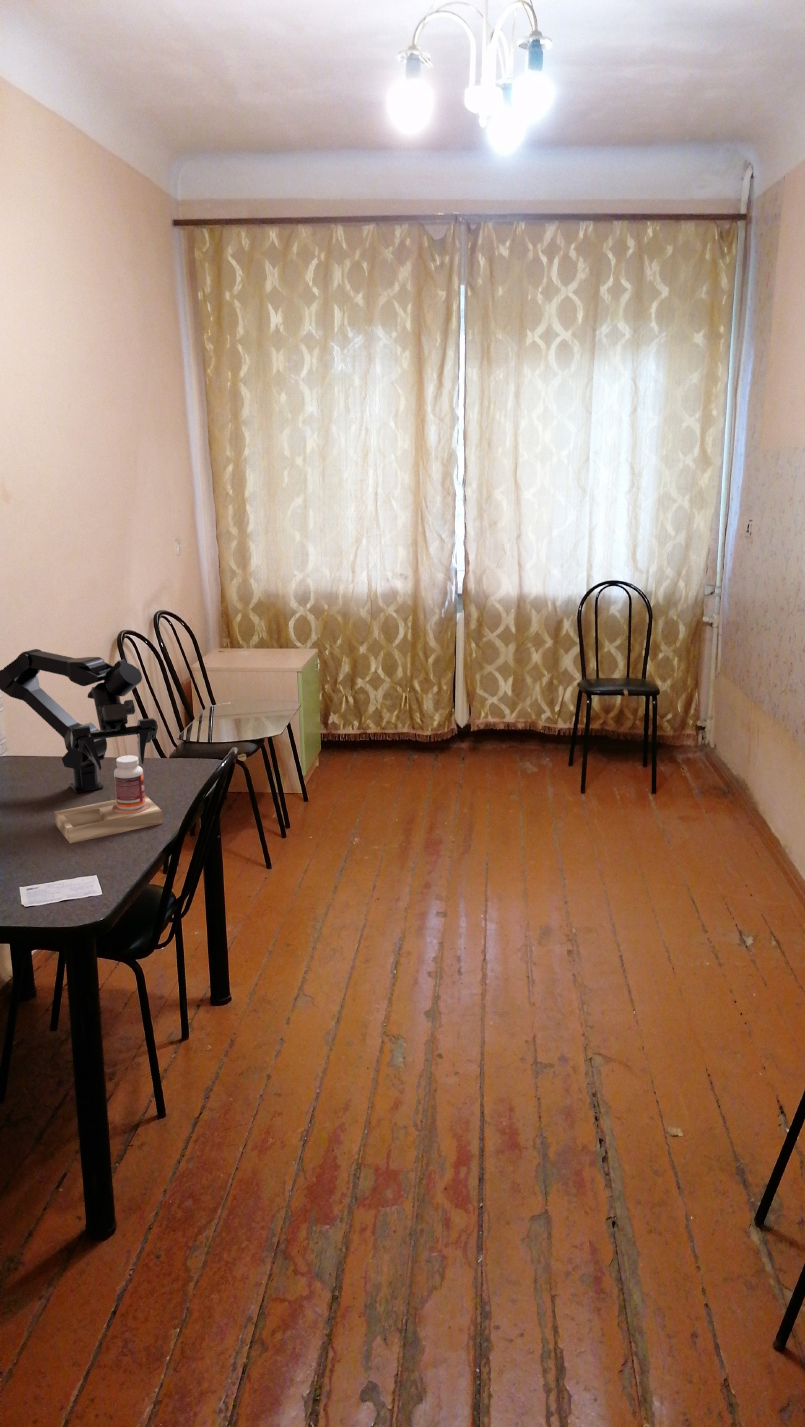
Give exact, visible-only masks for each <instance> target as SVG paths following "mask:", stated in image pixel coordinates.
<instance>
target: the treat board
mask: <svg viewBox="0 0 805 1427" xmlns="http://www.w3.org/2000/svg"><path fill="white" fill-rule="evenodd" d="M53 812H54V819H55V820H54V821H55V825H56V827H57V828H58V830H59V831H60V832H61V833H62V835H63V836H64V837H65V839H66V840H67V842H68V843H69V844H74V843H79V842H83V841H87V840H91V839H92V840H93V839H97V838H102V837H106V836H111V835H115V834H120V833H125V832H129V831H133V830H138V829H143V828H148V827H152V826H157V825H158V826H159V825H162V824H163V823H164V822H163V810H162V809H160V807H159V806H158V805H157V804H155V803H154V802H153V800H151V799H150V798H149V797H148V796H147V795H146V794H145V805H144V806H143V807H141V808H139V809H135V810H122V809H119V808H118V807H117V803H116V799H112V800H107V801H103V802H96V803H93V804H88V805H81V806H78V807H77V806H76V807H72V808H67V809H61V810H56V811H53Z"/></svg>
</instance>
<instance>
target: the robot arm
mask: <svg viewBox="0 0 805 1427" xmlns="http://www.w3.org/2000/svg"><path fill="white" fill-rule="evenodd" d="M41 671H42V672H46V673H47V672H48V673H52V674H56V675H60V676H64V677H67V678H68V679H69V681H70V682H71V683H73V684H76V685H78V686H81V687H87V686H90V685H94V684H96V683H97V684H96V685H95V686H92V687H91V689H90V691H88V694H87V698H88V699H92V700H93V701H94V706H95V711H96V716H97V721H98V726H99V729H98V727H96V725H95V724H94V723H93V722H88V723H84V724H81V723H79V722H78V721H77V720H76V719H75V718H74V717H73V716H71V714H69V712H67V711H66V710H65V709H64V708H63V707H62V705H60V704H59V703H58V702H56V701H55V700H54V699H53V698H52V697H51V696H50V695H49V694H48V693H47V692H46V691H44V689H42V688H41V686H40V682H39V678H38V675H39V673H40V672H41ZM142 679H143V676H142V673H141V670H140V669H139V668H137V667H136V666H135V665H133V664H131V663H128V662H127V661H126V659H124V658H123V659H120V660H117V661H116V662H115V664H114V665H112V664H110V663H107V662H105V660H104V658H103V657H101V656H85V657H71V656H66V655H61V654H57V653H53V652H49V651H43V650H42V649H38V648H35V649H34V648H33V649H29V650H25V651H22V652H21V653H20V654H19V655H18V656H17V657H16V659H14V660H12V661H11V662H10V663H9V664H7V665H6V666H4V668H3V669H0V691H1V692H2V693H4V694H6V695H7V696H8V697H11V698H13V699H16V700H20V701H22V702H25V703H26V705H28V707H30V708H31V709H32V710H33V711H34V712H35V713H36V714H37V715H38V716H39V717H41V718H42V720H44V721H45V722H46V723H47V724H48V725H49V726H50V727H51V728H52V729H53V730H55V732H56V733H57V734H59V735H60V736H61V737H62V738H63V741H64V746H65V749H66V751H67V752H66V753H65V754H64V755H63V756H62V758H61V761H62V764H63V766H64V767H65V768H68V769H71V770H72V778H73V780H72V781H73V782H71V783H70V784H69V787H71V789H72V790H73V791H74V793H76V794H80V793H84V792H91V791H95V790H101V789H104V785H103V784H102V783H101V782H100V781H99V780H100V779H99V772H98V771H102V764H101V761H103V760H105V755H106V752H107V750H108V742H107V739H108V738H109V739H111V738H117V737H125V736H135V735H136V736H137V737H136V738H137V748H138V756H139V757H138V759H139V761H140V762H139V763H140V764H141V765H143V764H144V760H145V753H146V745H147V744H149V743H151V742H152V740H154V739H156V737H157V734H158V729H159V726H158V722H157V719H155V718H154V717H152V718H151V717H150V718H142V719H141V718H140V719H138V720H137V725H132V726H127V724H128V722H129V721H128V716H131V715H134V714H135V713H136V707H135V703H134V700H133V699H127V700H124V702H123V703H122V701H121V697H125V696H127V695H128V694H129V693H130V692H131V691H133V690H134V689H135V688H136V687H137V686H138V685H139V684H140V683H141V682H142Z"/></svg>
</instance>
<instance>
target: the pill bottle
mask: <svg viewBox="0 0 805 1427" xmlns="http://www.w3.org/2000/svg"><path fill="white" fill-rule="evenodd" d="M139 761H140V759H139V757H138V756H136V755H129V754H128V755H122V756H119V757H117V758H116V761H115V763H116V764H115V765H116V768H115V769H114V771H113V778H114V789H115V800H116V803H117V807H118V808H119V809H122V810H135V809H139V808H141V807H143V806H144V805H145V795H146V794H145V791H146V790H145V781H144V780H145V779H144V769H143V768H142V767H141V766H140V765H139V764H140V762H139Z"/></svg>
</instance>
